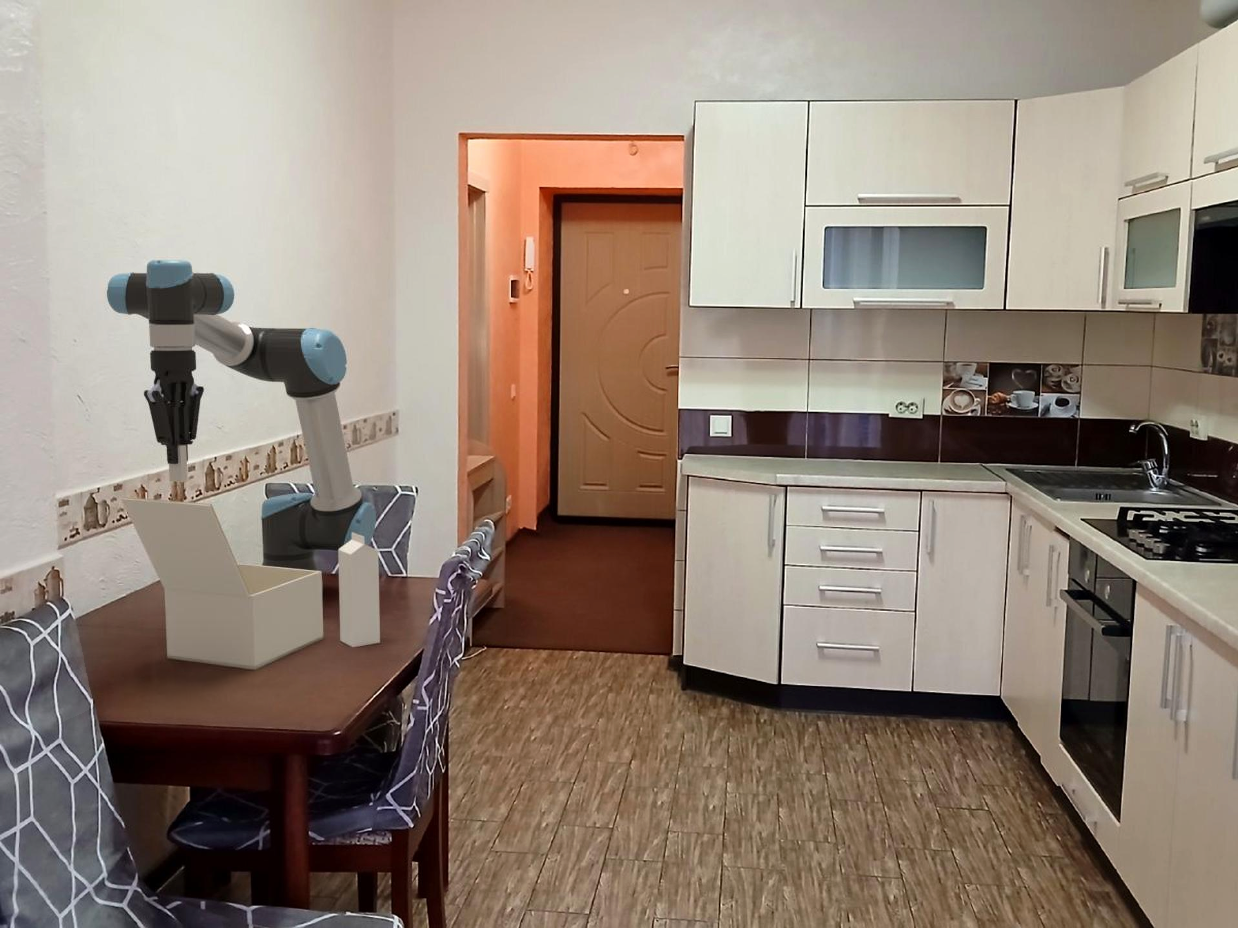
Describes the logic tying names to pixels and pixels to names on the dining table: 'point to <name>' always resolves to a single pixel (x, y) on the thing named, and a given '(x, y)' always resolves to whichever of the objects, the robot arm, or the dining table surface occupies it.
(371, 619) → the milk
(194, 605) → the carton
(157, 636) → the dining table surface
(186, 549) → the flap
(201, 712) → the dining table surface
